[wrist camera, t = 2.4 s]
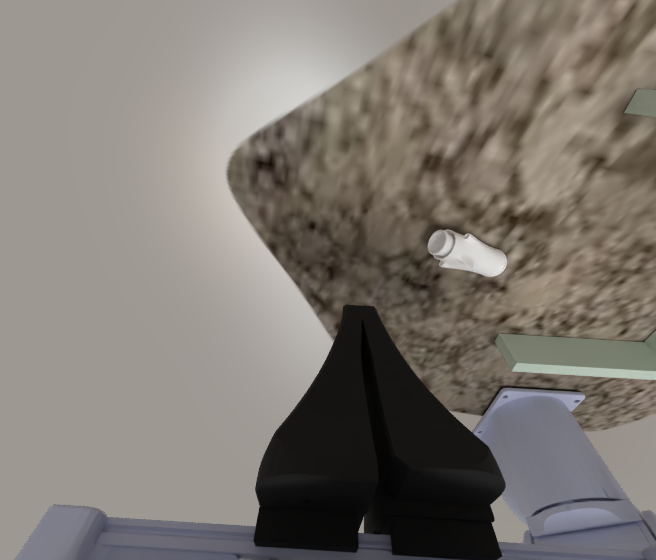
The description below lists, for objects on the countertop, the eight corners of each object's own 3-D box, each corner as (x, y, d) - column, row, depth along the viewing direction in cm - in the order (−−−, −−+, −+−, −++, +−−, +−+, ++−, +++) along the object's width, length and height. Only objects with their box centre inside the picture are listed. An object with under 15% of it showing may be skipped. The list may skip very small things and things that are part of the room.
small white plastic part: (458, 287, 21) (473, 315, 19) (416, 230, 19) (428, 255, 16) (506, 261, 20) (530, 288, 17) (468, 197, 17) (490, 217, 15)
